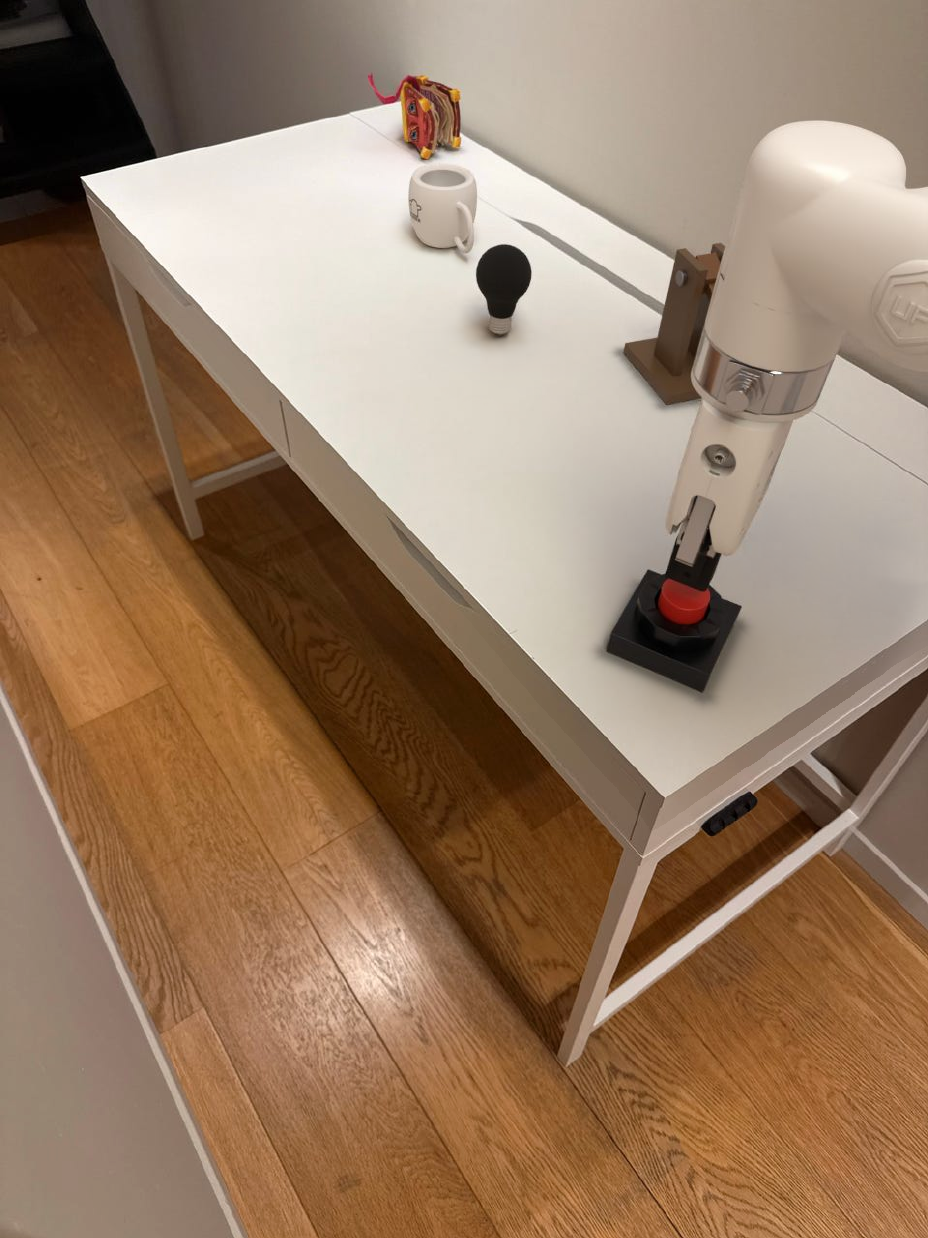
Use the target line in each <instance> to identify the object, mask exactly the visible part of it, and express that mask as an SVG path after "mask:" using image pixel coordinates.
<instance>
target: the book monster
mask: <svg viewBox="0 0 928 1238" xmlns="http://www.w3.org/2000/svg"><path fill="white" fill-rule="evenodd" d="M373 76H374V75H373V73H372V72H370V74H367V79H368V82H369V85H370V86H371V87H372V88H373V90H374V93H375V95H376V98H377V99H378V100H379V102H381V103H382V105H390V104H394V103H397V102H398V101H399V99H400V105H401V117H402V119H401V120H402V132H403V140H404V141H405V142H406V143H411V144H413V145H414V146H415V147H416V148H417V150H418V151H419V152H420V157H421V158H423V159H425V160H429V159H430V157H431V155H433V154H434V153H435V152H436V147H439V144H441V146H443V147H445V145H444V144H445V143H446V144H448V145H450V147H452V148H457V149H458V148H461V143H462V137H461V125H462V115H461V108H460V100H461V92H460V89H458V88H457V87H455V88H452V87H450V86H448V85H446V84H444V83H441V82H438V81H433V80H429V76H427V75H423V74H420V75H419V76H418V75H416V76H415V75H414V76H413V75H409V74H407V75H406V77H404V79H403V80H402V81H401V82H399V86H398V88H397V89H396V92H395V94H392V95H391V94H390V95H387V96H384V95H383V94H382V93H380V92H379V91H378V89H377V88H376V86H375V82H374V77H373ZM438 143H439V144H438Z"/></svg>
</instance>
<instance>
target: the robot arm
mask: <svg viewBox="0 0 928 1238" xmlns="http://www.w3.org/2000/svg"><path fill="white" fill-rule="evenodd" d="M906 181H907V166H906V162H905V159H904V156H903V155H902V153H901V152H900V150H899V149H898V148H897V146H896V145H895V144H893V143H892V141H890V140H888V139H886V138H885V137H884V136H882V135H880V134H877V133H876V132H874V131H871V130H869V129H866V128H863V127H860V126H857V125H853V124H851V123H850V124H849V123H846V122H845V123H844V122H840V121H832V120H819V119H818V120H800V121H794V122H788V123H786V124H783V125H781V126H778V127H776V128H774V129H773V130H771V131H769V132H768V133H767V134H766V135H764V137H763V138H762V139H761V140H760V141H759V142H758V143H757V145H756V146H755V148H754V150H753V151H752V154H751V156H750V159H749V161H748V164H747V167H746V170H745V173H744V177H743V181H742V184H741V188H740V192H739V196H738V199H737V202H736V206H735V209H734V214H733V216H732V221H731V225H730V227H729V232H728V235H727V238H726V244H725V245H724V246H725V250H724V253H723V257H722V261H721V264H720V268H719V272H718V275H717V279H716V283H715V286H714V290H713V294H712V297H711V301H710V305H709V308H708V312H707V316H706V319H705V323H704V327H703V331H702V334H701V338H700V342H699V345H698V349H697V353H696V356H695V360H694V364H693V368H692V372H691V381H692V384H693V386H694V388H695V390H696V391H697V393H698V394H699V395H700V396H701V397H702V398H701V400H700V403H699V406H698V409H697V413H696V415H695V419H694V422H693V425H692V427H691V429H690V435H689V438H688V441H687V444H686V446H685V450H684V454H683V457H682V460H681V463H680V466H679V470H678V473H677V476H676V480H675V484H674V486H673V490H672V494H671V497H670V502H669V505H668V509H667V514H666V519H665V522H664V523H665V525H664V526H665V529H666V531H667V533H668V534H669V535H672V534H673V533H675V534H677V536H676V537H675V541H674V544H673V547H672V551H671V553H670V557H669V559H668V563H667V566H666V570H665V573H664V574H665V575H666V577H667V578H669V579H671V580H674V581H676V582H679V583H681V584H684V585H686V586H689V587H691V588H694V589H696V590H699V591H702V592H704V591H706V590H707V588H708V586H709V584H710V585H711V582H712V580H713V578H714V576H715V574H716V572H717V568H718V566H719V562H720V560H721V557H722V555H723V557H724V556H725V557H728V556H732V555H733V554H735V553H736V552H737V551H738V549H739V548H740V546H741V545H742V543H743V540H744V538H745V537H746V534H747V532H748V531H749V529H750V527H751V525H752V523H753V521H754V518H755V516H756V514H757V512H758V510H759V508H760V506H761V504H762V502H763V500H764V498H765V496H766V494H767V491H768V490H769V487H770V484H771V482H772V479H773V477H774V475H775V470H776V467H777V465H778V462H779V459H780V457H781V454H782V452H783V450H784V446H785V443H786V441H787V438H788V436H789V434H790V431H791V429H792V425H793V423H794V421H796V420H798V419H800V418H803V417H804V416H806V415H809V414H810V413H811V412H812V411H813V410H814V409H815V407H816V406H817V404H818V402H819V399H820V397H821V394H822V391H823V389H824V387H825V384H826V381H827V379H828V377H829V375H830V372H831V370H832V367H833V365H834V362H835V360H836V357H837V355H838V353H839V351H840V348H841V346H842V343H843V341H844V338H845V336H846V334H847V335H848V336H849V337H851V338H852V339H854V340H855V341H856V342H857V343H859V344H860V345H862V346H863V347H865V348H866V349H868V350H869V351H870V352H872V353H874V354H875V355H877V356H879V357H880V358H882V359H884V360H886V361H888V362H889V363H891V364H894V365H896V366H898V367H901V368H904V369H907V370H911V371H915V372H921V373H926V374H927V373H928V186H924V187H917V188H907V187H906ZM678 530H679V531H678ZM677 531H678V533H677Z"/></svg>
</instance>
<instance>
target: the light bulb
mask: <svg viewBox="0 0 928 1238" xmlns="http://www.w3.org/2000/svg"><path fill="white" fill-rule="evenodd" d="M532 275H533V274H532V266H531V263H530V260H529V258H528V256H527V255H526V253H525V252H523V251H522V250H521V249H520V248H518V247H517V246H515V245H512V244H507V243H503V244H502V243H501V244H497V245H494V246H491V247H490V248H488V249H487V250H485V252H484V253H482V255H481V256H480V258H479V260H478V262H477V266H476V268H475V279H476V280H475V281H476V284H477V287H478V289H479V292H481V294H482V295H483V297H484V298H485V302H486V306H487V307H486V308H487V311H488V315H489V317H488V319H489V321H488V322H489V323H488V329H489V330H490V331H491V332H492V333H494V334H495V335H497V336H500V337H501V336H503V335H505V334H507V333H509V332H510V330H511V329H512V322H513V315H514V313H515V311H516V308H517V304H518V302H519V301H520V299H521V298H522V297H523V296H524V295H525V294H526V293H527V291H528V289H529V288H530V284H531V281H532Z"/></svg>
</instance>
